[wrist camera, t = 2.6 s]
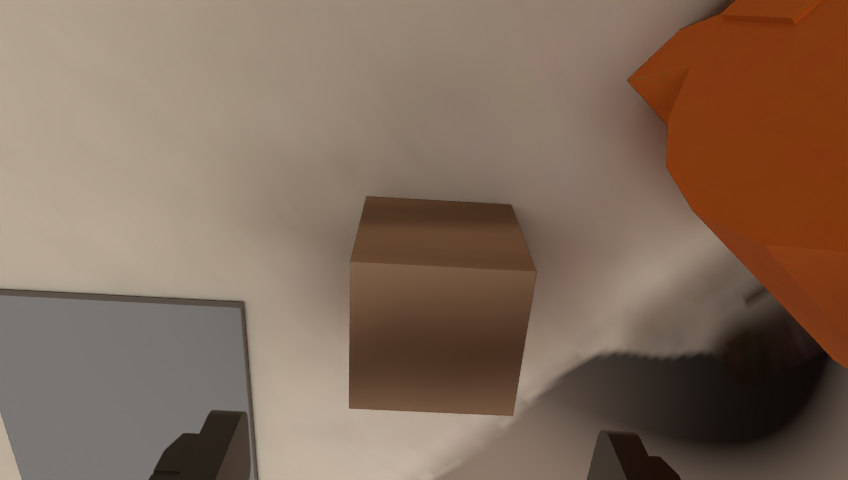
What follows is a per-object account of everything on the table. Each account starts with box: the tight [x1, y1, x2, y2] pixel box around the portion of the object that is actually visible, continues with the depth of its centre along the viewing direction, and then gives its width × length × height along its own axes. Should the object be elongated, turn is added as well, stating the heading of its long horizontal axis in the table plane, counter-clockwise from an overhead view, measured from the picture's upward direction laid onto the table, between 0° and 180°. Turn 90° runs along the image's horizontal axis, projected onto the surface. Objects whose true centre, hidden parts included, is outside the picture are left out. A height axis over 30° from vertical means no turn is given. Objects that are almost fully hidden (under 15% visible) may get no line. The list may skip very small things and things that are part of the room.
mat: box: [0, 289, 258, 480], centre depth 23 cm, size 10×10×1 cm
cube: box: [349, 196, 537, 416], centre depth 19 cm, size 5×5×5 cm
